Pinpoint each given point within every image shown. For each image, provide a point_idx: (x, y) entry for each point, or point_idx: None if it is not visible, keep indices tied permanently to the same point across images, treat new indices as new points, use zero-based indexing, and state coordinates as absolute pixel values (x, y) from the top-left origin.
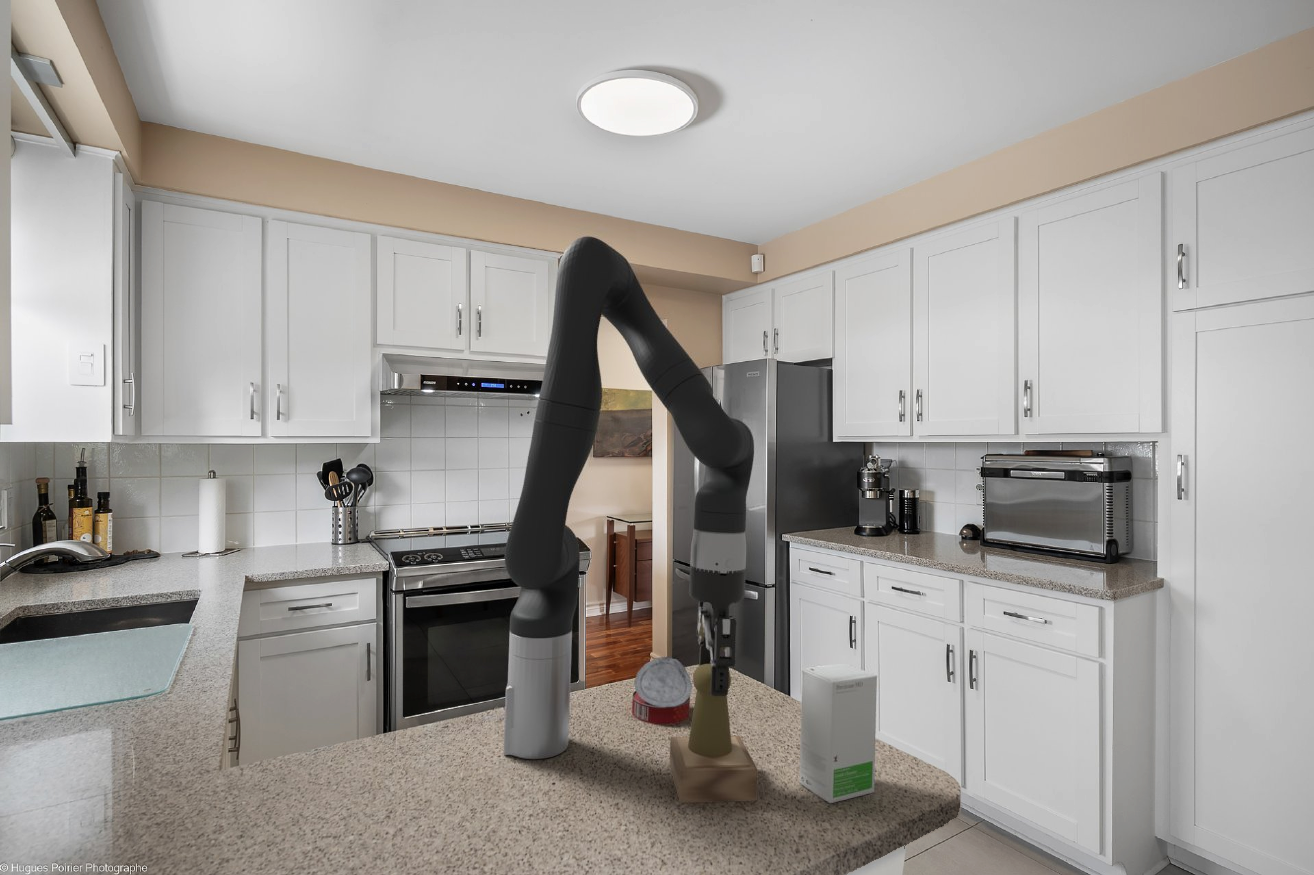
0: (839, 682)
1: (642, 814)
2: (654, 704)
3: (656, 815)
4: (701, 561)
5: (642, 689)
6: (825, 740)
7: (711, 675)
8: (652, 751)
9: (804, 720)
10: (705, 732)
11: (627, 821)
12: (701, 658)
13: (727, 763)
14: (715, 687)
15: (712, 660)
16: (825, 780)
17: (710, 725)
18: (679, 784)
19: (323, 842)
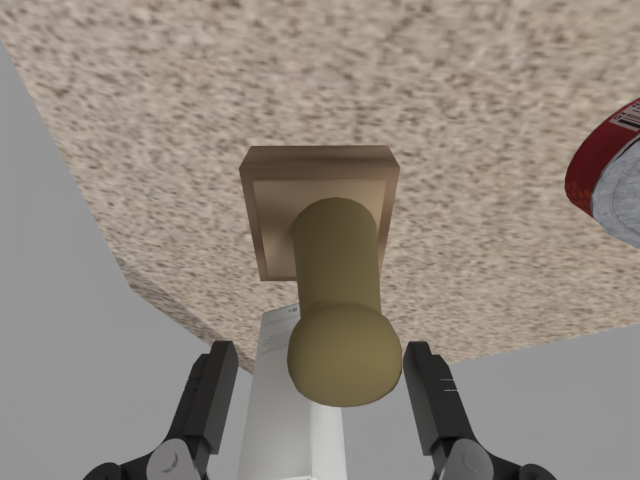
0: None
1: (201, 66)
2: (631, 150)
3: (203, 96)
4: None
5: None
6: (261, 377)
7: (201, 398)
8: (458, 116)
9: None
10: (298, 248)
11: (168, 27)
12: (422, 388)
13: (268, 249)
14: (194, 370)
15: (157, 471)
16: (264, 330)
17: (297, 267)
18: (255, 155)
19: None
